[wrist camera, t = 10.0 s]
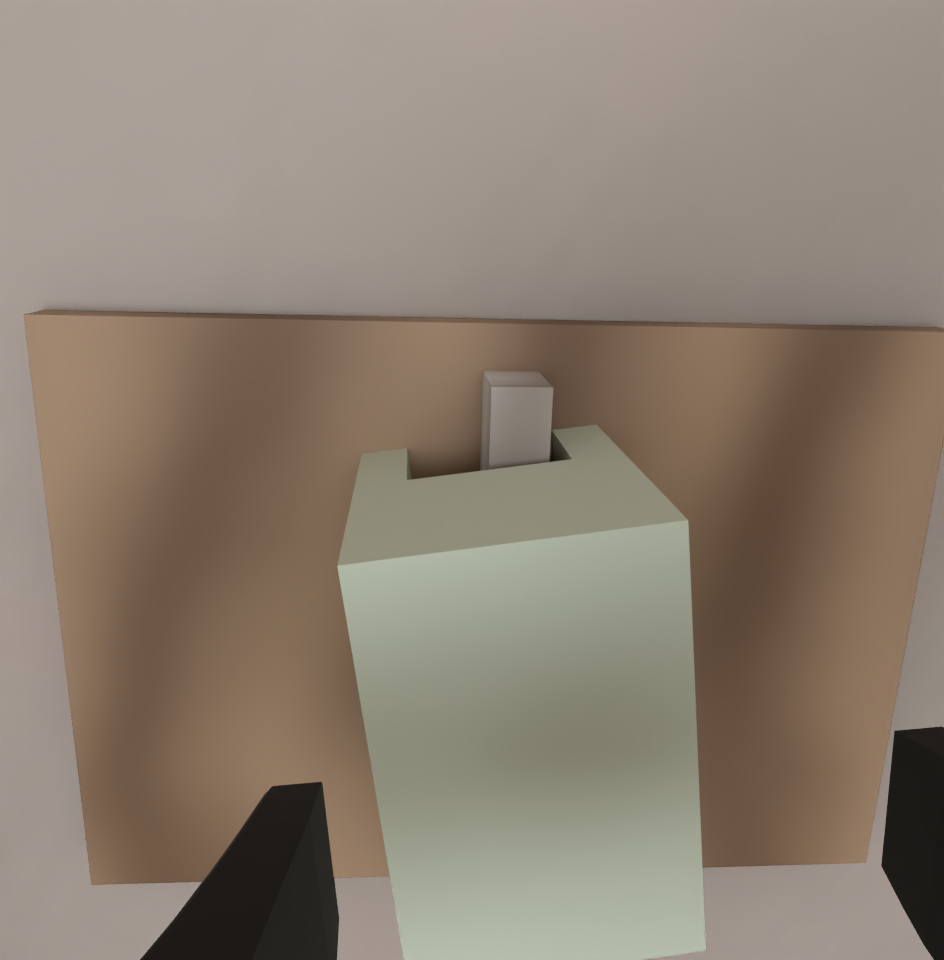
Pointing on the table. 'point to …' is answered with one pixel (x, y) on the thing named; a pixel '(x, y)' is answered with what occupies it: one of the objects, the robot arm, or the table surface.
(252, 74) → the table surface
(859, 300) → the table surface
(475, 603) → the cabinet block
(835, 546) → the cleat board
